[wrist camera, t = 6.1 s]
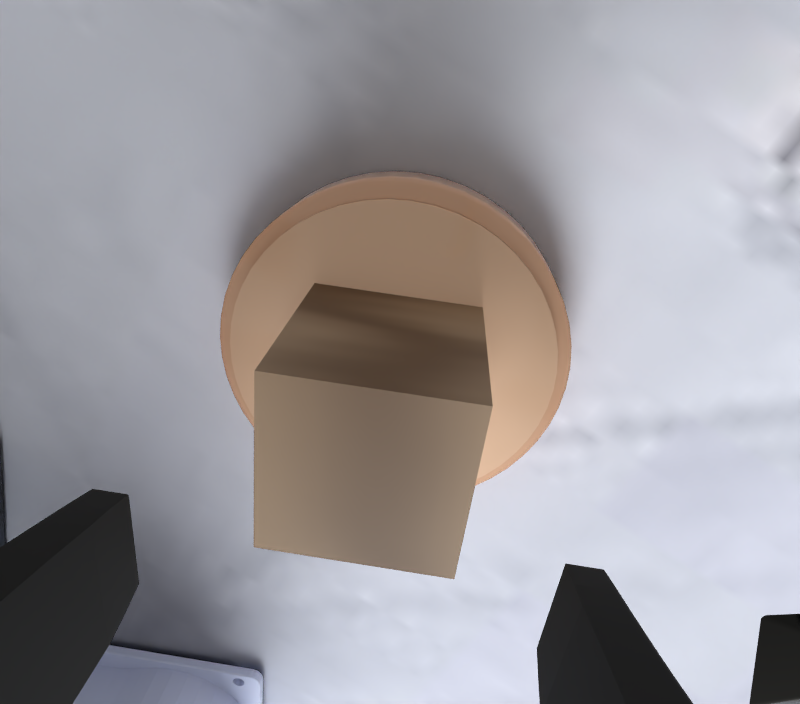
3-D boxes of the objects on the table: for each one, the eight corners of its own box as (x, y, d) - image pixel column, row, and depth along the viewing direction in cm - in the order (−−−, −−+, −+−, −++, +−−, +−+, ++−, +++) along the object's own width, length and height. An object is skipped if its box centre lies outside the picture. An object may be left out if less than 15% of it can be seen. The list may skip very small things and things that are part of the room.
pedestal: (241, 443, 20) (220, 479, 18) (239, 147, 16) (211, 157, 14) (522, 487, 20) (528, 527, 18) (600, 197, 15) (619, 214, 14)
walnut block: (306, 423, 17) (254, 546, 13) (314, 282, 15) (254, 370, 11) (455, 446, 17) (454, 579, 13) (482, 306, 15) (492, 406, 11)
